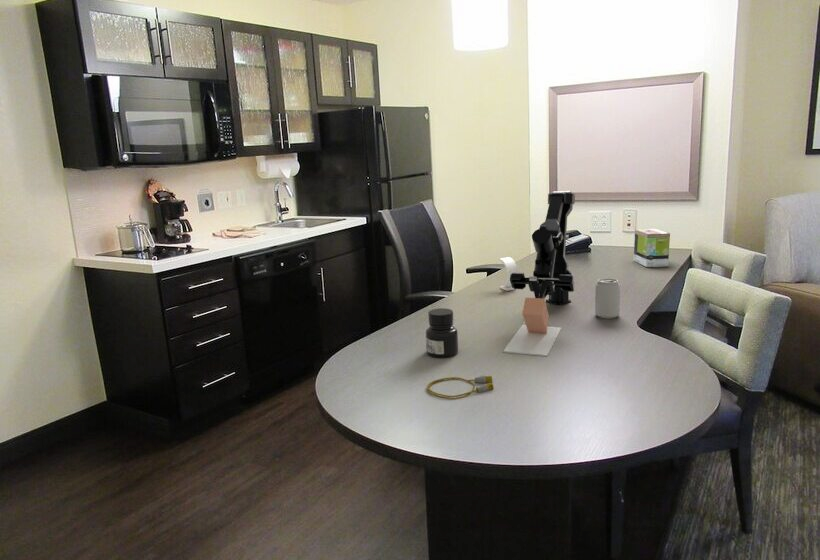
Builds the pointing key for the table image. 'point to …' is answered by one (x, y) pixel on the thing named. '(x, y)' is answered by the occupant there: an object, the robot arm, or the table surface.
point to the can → (607, 298)
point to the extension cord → (478, 379)
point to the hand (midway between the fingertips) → (538, 306)
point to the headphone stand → (508, 271)
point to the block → (536, 315)
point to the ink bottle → (441, 334)
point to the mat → (532, 342)
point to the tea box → (651, 247)
